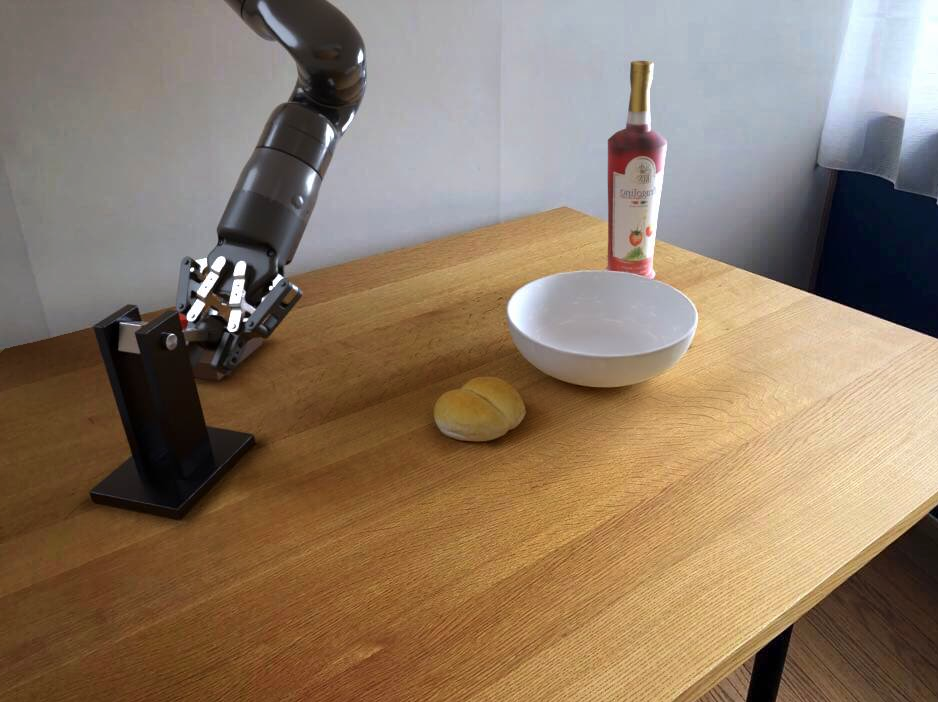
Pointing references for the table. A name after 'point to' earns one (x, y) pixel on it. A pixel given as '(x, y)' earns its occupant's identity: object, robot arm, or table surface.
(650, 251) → the liquor
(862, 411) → the table surface
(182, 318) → the stop button
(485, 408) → the bread roll
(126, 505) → the bracket
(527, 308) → the serving bowl
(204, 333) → the lever
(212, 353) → the control block
